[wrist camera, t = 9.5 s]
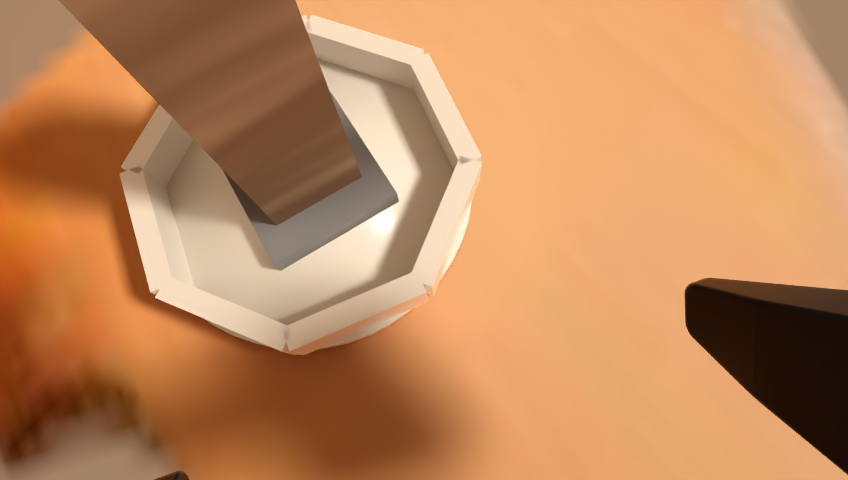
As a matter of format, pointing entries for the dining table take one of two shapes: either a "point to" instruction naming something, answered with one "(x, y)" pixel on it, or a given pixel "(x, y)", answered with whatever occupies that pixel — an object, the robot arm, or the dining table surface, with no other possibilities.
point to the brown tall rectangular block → (251, 110)
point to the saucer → (344, 256)
